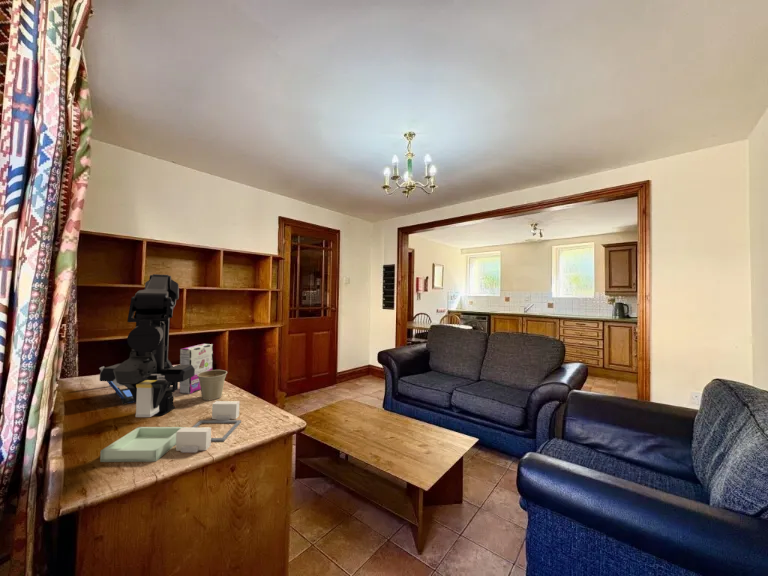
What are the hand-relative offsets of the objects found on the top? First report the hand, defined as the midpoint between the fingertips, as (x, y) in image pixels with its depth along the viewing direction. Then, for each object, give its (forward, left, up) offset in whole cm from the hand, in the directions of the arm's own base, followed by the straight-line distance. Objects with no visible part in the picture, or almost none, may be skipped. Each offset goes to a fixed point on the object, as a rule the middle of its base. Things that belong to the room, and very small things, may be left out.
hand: (147, 407), depth 75 cm
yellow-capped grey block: (0, 0, -2) cm, 2 cm away
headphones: (+11, +9, -10) cm, 17 cm away
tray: (0, 0, -10) cm, 10 cm away
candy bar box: (-11, +44, -10) cm, 46 cm away
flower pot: (-1, +35, -10) cm, 36 cm away
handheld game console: (-29, +35, -10) cm, 47 cm away
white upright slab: (-43, +46, -10) cm, 64 cm away
